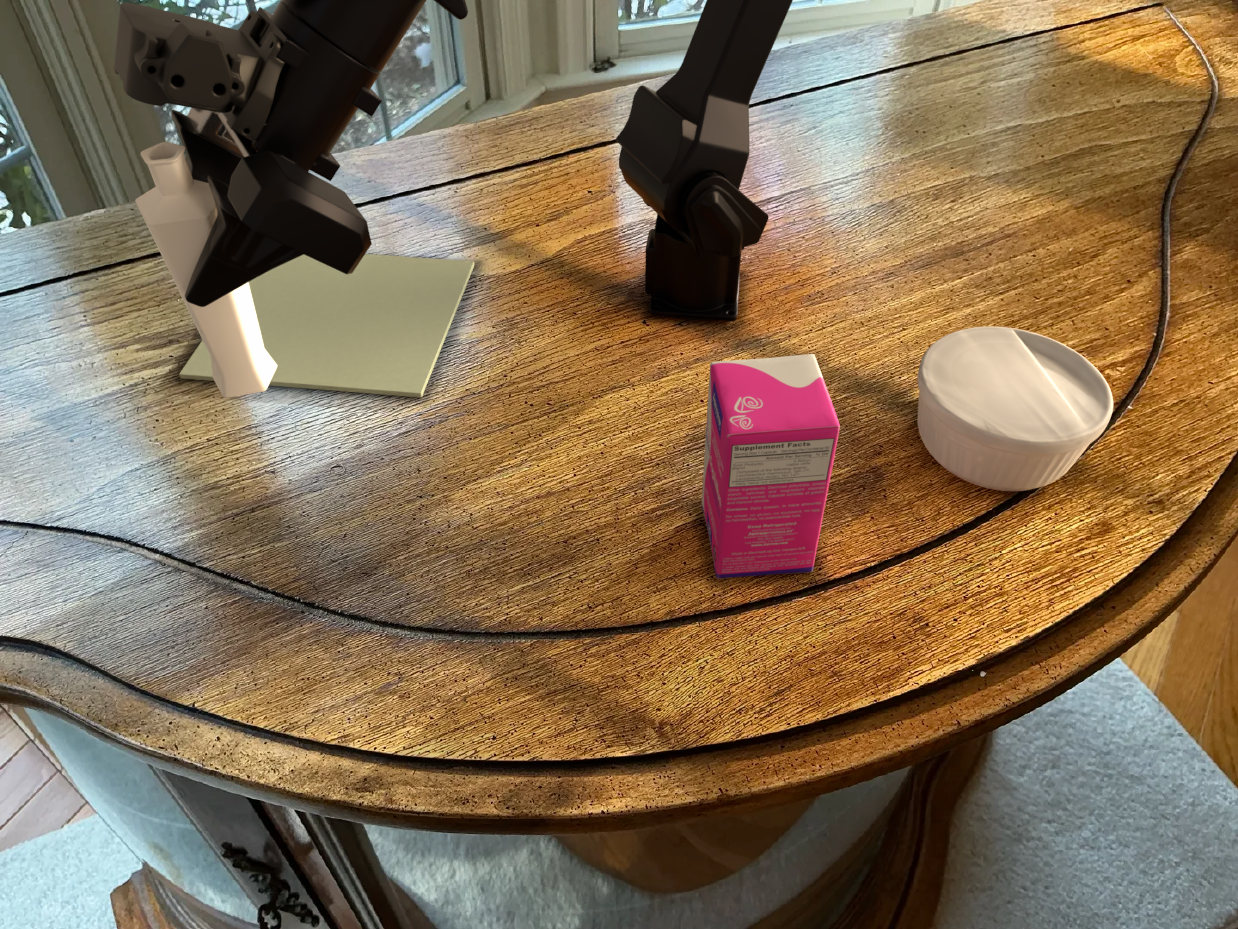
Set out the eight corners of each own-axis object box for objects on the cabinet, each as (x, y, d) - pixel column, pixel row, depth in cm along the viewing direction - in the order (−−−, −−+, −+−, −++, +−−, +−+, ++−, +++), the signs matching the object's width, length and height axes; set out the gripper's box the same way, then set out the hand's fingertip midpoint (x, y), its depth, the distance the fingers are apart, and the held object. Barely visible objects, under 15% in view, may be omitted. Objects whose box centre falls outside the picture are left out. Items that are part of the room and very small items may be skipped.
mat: (474, 265, 77) (474, 261, 77) (421, 397, 66) (420, 393, 66) (266, 251, 79) (265, 247, 79) (180, 378, 68) (178, 374, 67)
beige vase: (236, 413, 58) (148, 186, 47) (193, 382, 60) (99, 157, 49) (299, 373, 61) (229, 149, 50) (256, 344, 63) (179, 122, 52)
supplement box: (696, 506, 59) (708, 356, 51) (793, 500, 59) (821, 350, 51) (711, 582, 55) (726, 432, 47) (815, 575, 55) (848, 425, 47)
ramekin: (1118, 448, 63) (1150, 385, 59) (1021, 536, 57) (1049, 472, 54) (969, 365, 69) (989, 302, 65) (868, 438, 63) (883, 374, 60)
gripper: (141, -115, 50) (6, 141, 54) (236, 2, 39) (55, 316, 43) (325, 12, 59) (195, 226, 63) (448, 140, 47) (280, 392, 51)
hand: (183, 280), depth 55 cm, fingers closed on beige vase, 4 cm apart
